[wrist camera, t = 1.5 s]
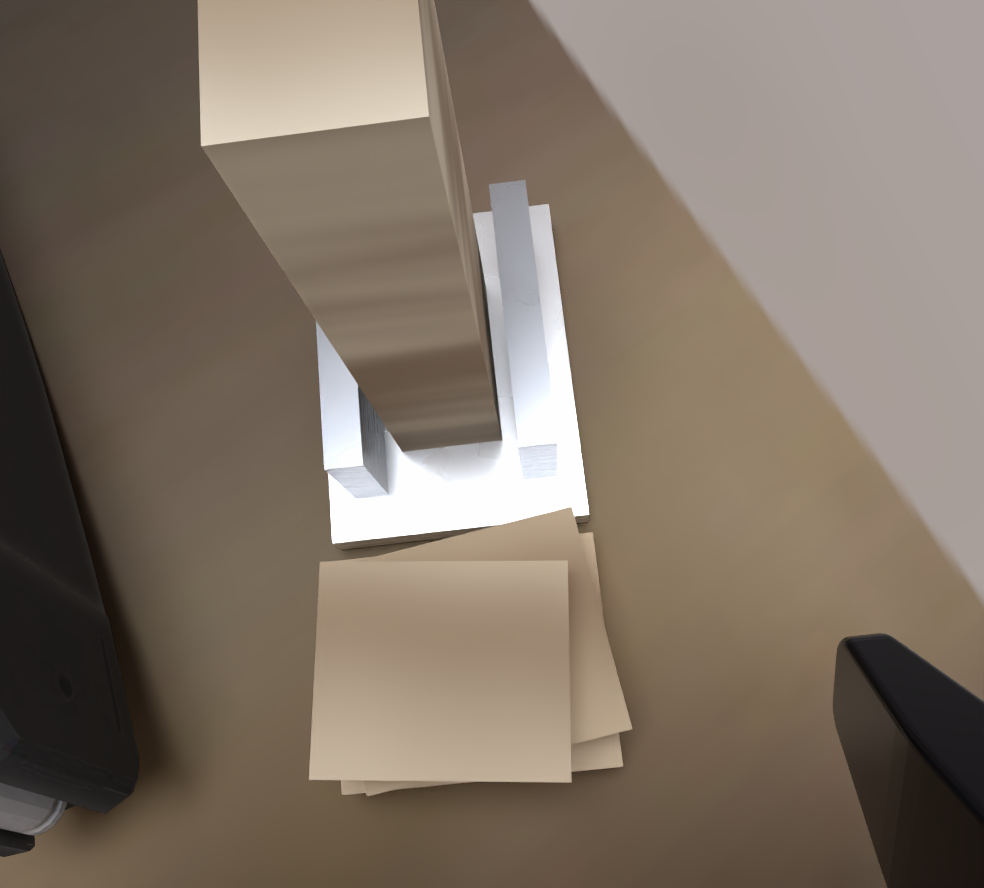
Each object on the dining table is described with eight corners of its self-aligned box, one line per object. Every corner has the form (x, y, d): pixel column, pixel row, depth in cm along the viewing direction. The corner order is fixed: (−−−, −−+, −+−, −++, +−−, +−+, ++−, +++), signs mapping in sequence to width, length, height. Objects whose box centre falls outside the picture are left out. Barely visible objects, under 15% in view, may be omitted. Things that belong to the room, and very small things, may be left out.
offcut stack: (627, 760, 21) (644, 778, 17) (356, 788, 21) (305, 813, 17) (596, 526, 23) (605, 487, 18) (342, 555, 23) (291, 523, 18)
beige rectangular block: (502, 440, 22) (429, 116, 10) (402, 451, 22) (201, 145, 10) (485, 285, 23) (400, -189, 11) (389, 297, 23) (194, -159, 11)
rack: (587, 521, 23) (593, 487, 19) (342, 549, 23) (298, 521, 19) (549, 223, 25) (547, 136, 21) (323, 251, 25) (280, 170, 21)
